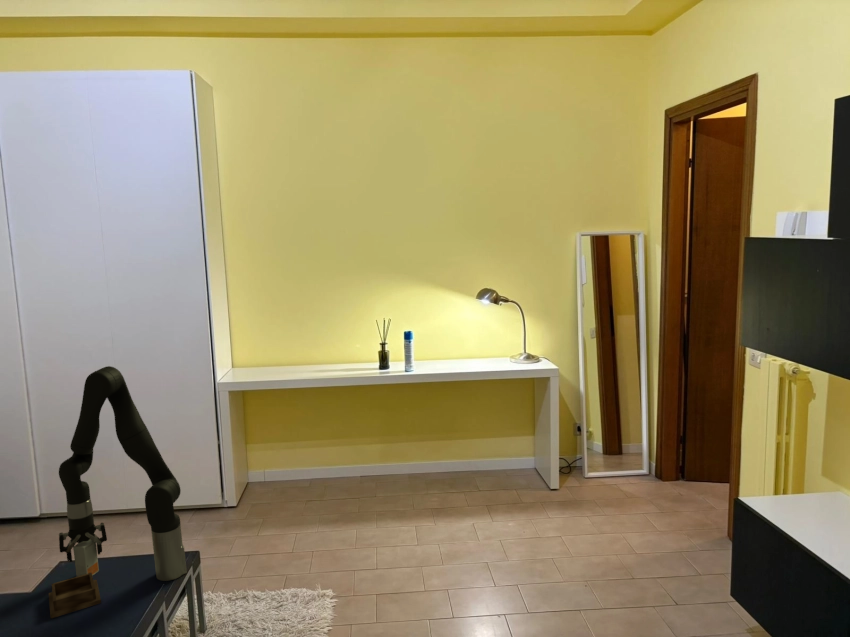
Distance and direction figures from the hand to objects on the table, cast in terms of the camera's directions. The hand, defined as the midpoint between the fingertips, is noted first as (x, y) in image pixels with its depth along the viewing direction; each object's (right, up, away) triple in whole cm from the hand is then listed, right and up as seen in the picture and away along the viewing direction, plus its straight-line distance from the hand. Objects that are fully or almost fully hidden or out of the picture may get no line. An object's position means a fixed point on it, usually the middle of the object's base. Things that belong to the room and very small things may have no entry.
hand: (85, 557), depth 220 cm
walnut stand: (+4, -9, -13) cm, 16 cm away
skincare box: (+1, -7, +1) cm, 7 cm away
